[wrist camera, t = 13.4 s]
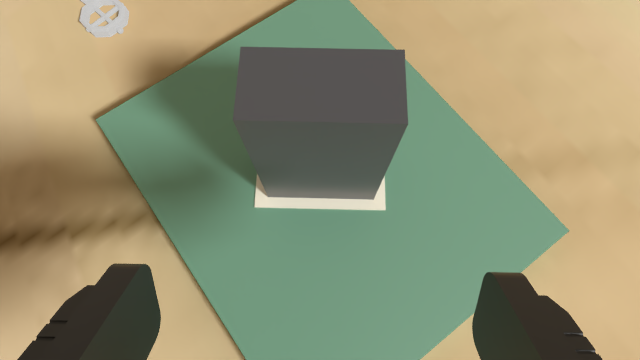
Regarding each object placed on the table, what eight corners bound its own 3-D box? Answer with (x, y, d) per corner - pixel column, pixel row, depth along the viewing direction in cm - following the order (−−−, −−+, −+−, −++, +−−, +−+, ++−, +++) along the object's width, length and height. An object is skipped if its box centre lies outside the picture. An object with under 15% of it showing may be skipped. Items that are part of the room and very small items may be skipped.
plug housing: (373, 199, 23) (408, 123, 14) (268, 197, 23) (232, 120, 14) (372, 150, 24) (404, 49, 14) (271, 148, 24) (240, 46, 15)
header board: (108, 130, 26) (65, 93, 21) (329, -4, 29) (331, -58, 25) (307, 446, 20) (304, 482, 16) (554, 235, 23) (605, 218, 19)
